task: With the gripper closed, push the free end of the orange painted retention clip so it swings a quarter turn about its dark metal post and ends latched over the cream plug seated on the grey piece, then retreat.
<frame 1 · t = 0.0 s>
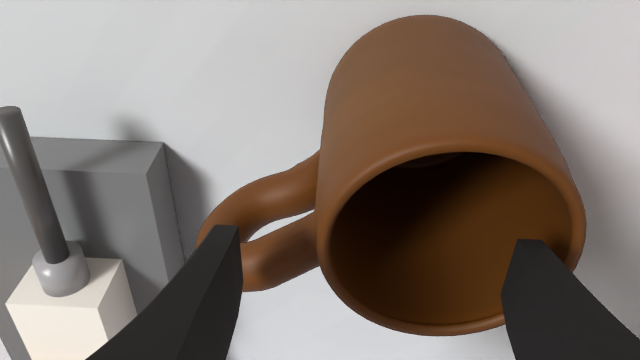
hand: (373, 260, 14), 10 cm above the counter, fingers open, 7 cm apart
grey piece: (98, 277, 30), on the counter
plug: (108, 251, 28), resting on grey piece
mug: (364, 108, 23), on the counter
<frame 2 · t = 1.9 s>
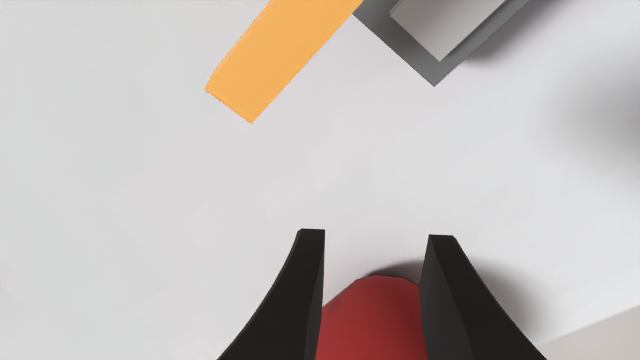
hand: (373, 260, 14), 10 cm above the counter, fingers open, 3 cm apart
tomato: (378, 304, 31), on the counter
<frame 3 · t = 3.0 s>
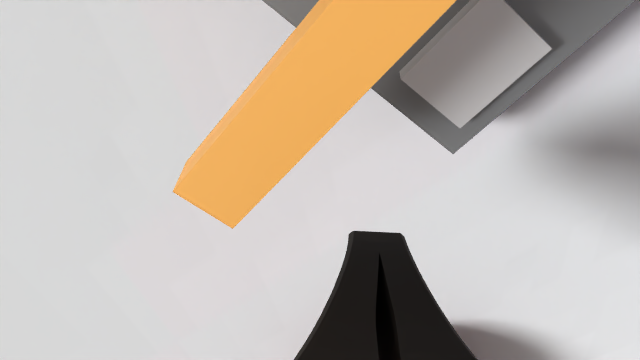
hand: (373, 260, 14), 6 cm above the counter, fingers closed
clip: (358, 27, 10), point 7 cm above the counter, hinge at 90.0°
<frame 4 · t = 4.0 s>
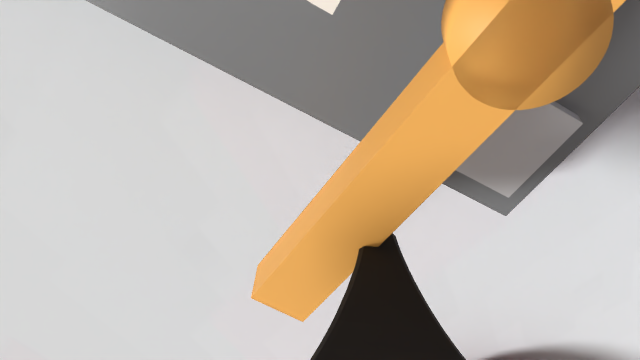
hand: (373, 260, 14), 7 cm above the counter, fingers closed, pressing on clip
clip: (397, 163, 12), point 7 cm above the counter, hinge at 86.1°, touching gripper
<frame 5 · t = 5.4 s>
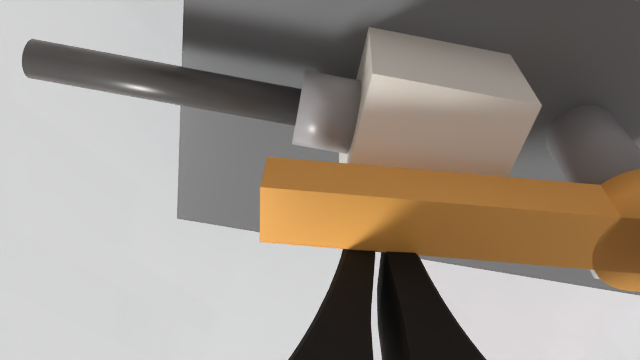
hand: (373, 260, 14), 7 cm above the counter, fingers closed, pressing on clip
grey piece: (459, 106, 19), on the counter
plug: (411, 69, 18), resting on grey piece
clip: (486, 217, 13), point 7 cm above the counter, hinge at 6.2°, touching gripper
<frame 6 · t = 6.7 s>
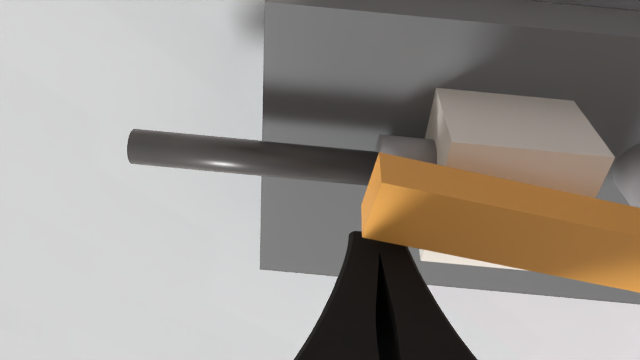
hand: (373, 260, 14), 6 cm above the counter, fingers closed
grey piece: (520, 143, 19), on the counter
plug: (472, 113, 19), resting on grey piece
clip: (583, 238, 13), point 7 cm above the counter, hinge at -7.8°
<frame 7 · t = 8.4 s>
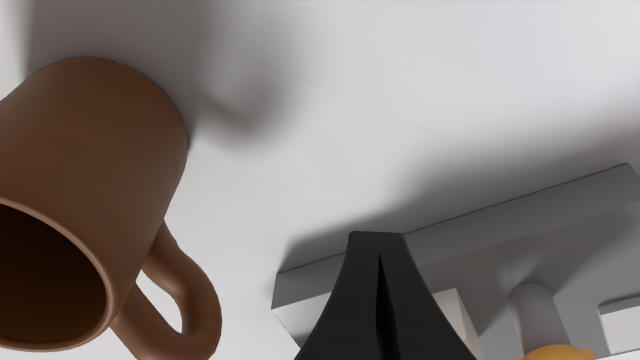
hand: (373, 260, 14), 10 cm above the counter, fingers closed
grey piece: (465, 288, 29), on the counter
plug: (423, 286, 29), resting on grey piece
mug: (150, 157, 25), on the counter
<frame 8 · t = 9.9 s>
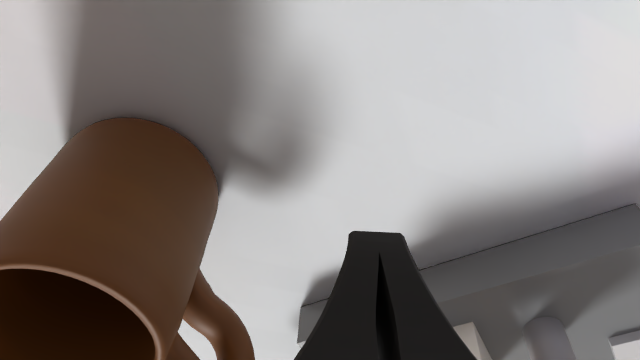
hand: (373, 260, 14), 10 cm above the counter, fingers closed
grey piece: (481, 318, 30), on the counter
plug: (441, 317, 31), resting on grey piece
mug: (182, 203, 27), on the counter
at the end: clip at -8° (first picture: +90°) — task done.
